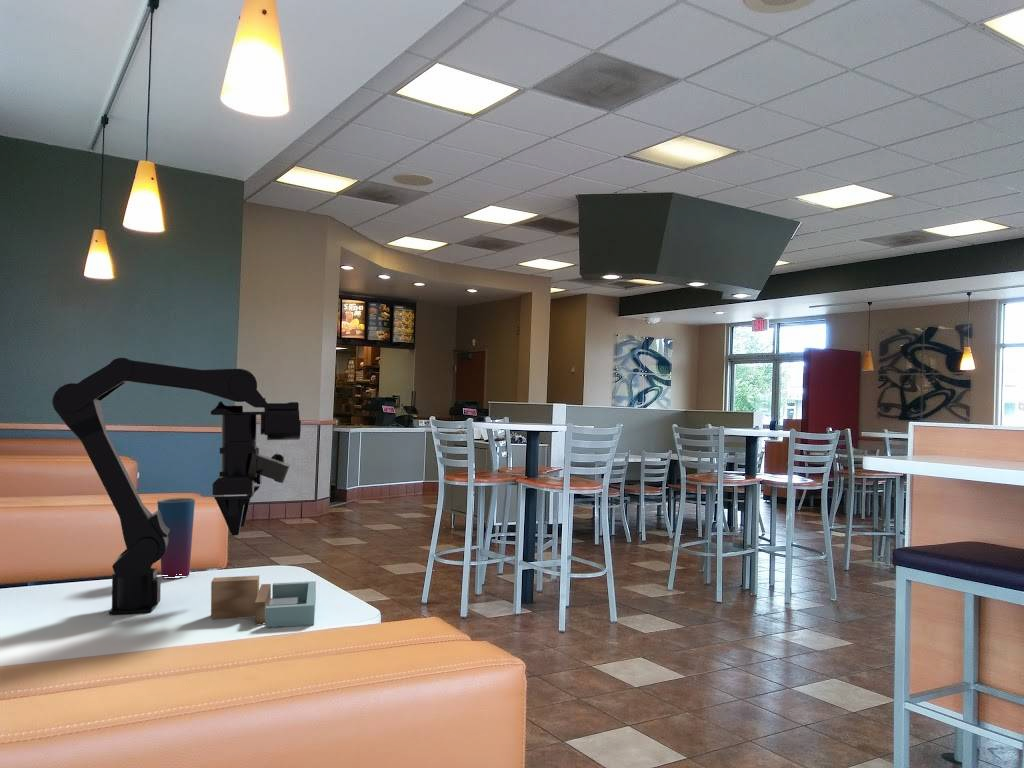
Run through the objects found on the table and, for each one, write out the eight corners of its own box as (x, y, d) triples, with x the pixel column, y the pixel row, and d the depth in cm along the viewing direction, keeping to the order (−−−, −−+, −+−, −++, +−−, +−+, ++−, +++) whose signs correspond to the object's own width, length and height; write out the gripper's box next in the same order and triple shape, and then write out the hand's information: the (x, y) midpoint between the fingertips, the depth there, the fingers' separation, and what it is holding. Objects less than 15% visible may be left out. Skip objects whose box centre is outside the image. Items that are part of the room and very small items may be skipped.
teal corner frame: (265, 627, 117) (265, 608, 117) (272, 600, 133) (273, 583, 133) (313, 624, 119) (314, 605, 119) (315, 598, 135) (315, 581, 135)
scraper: (206, 628, 117) (206, 588, 117) (217, 607, 129) (217, 571, 129) (264, 624, 119) (265, 585, 119) (270, 604, 131) (270, 569, 131)
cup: (168, 582, 147) (168, 503, 147) (149, 577, 151) (150, 500, 151) (201, 575, 152) (201, 499, 153) (182, 570, 156) (183, 497, 157)
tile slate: (268, 614, 126) (268, 605, 126) (270, 607, 131) (270, 598, 131) (297, 612, 127) (297, 603, 127) (298, 605, 132) (298, 596, 132)
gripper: (284, 443, 127) (283, 538, 127) (289, 438, 145) (289, 521, 145) (212, 444, 124) (211, 541, 124) (227, 438, 142) (226, 523, 142)
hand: (238, 530), depth 134 cm, fingers open, 9 cm apart
